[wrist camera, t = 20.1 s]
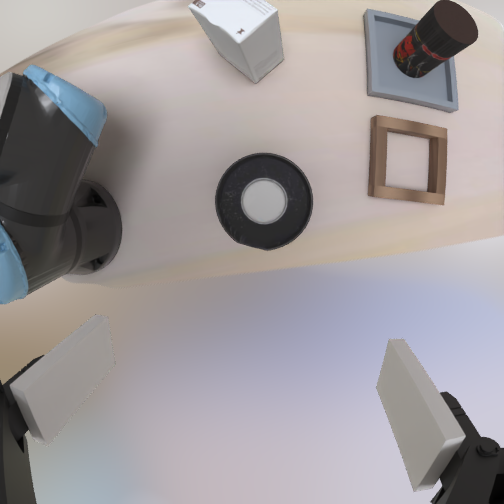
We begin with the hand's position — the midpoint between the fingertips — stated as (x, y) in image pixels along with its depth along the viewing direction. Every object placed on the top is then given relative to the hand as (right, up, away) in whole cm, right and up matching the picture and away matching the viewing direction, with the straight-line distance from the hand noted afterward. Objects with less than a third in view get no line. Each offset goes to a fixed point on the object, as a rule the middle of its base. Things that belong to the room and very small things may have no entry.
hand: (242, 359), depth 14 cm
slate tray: (+24, +33, +23) cm, 47 cm away
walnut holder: (+22, +18, +27) cm, 39 cm away
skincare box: (0, +33, +25) cm, 41 cm away
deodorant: (+24, +33, +22) cm, 46 cm away
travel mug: (+3, +13, +30) cm, 32 cm away
